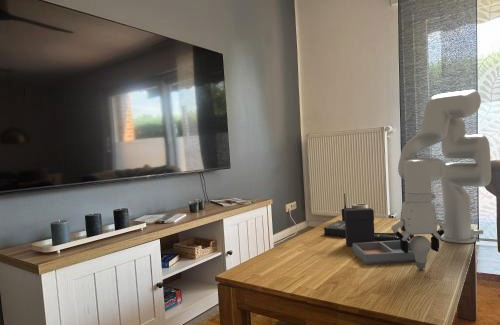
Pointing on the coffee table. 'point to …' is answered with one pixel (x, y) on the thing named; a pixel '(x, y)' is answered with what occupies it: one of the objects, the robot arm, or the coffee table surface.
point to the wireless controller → (336, 227)
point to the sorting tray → (382, 252)
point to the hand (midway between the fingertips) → (419, 251)
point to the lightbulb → (420, 250)
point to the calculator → (359, 226)
